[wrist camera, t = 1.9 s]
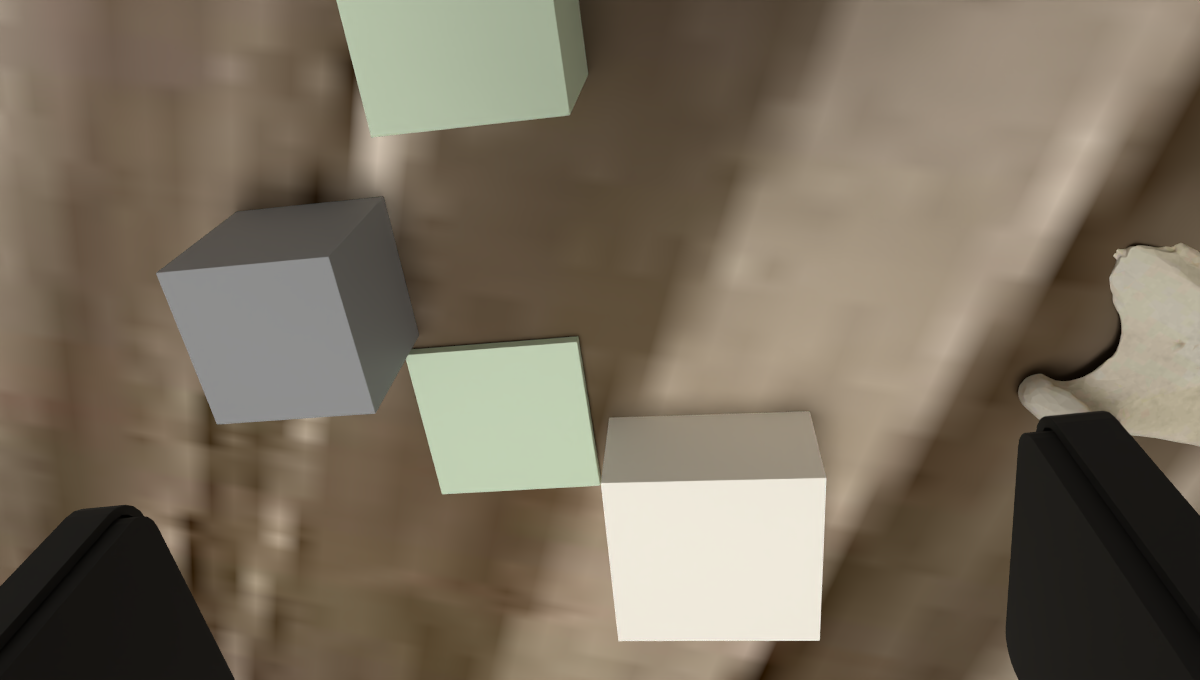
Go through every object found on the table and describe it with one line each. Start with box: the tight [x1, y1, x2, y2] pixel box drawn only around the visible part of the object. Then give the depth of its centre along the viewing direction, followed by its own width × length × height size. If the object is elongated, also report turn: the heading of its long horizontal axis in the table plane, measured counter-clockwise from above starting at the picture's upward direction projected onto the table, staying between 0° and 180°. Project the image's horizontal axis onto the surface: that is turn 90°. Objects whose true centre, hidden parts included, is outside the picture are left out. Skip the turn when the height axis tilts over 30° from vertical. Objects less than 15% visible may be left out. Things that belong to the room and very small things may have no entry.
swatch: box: [406, 336, 601, 494], centre depth 31 cm, size 6×6×1 cm
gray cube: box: [156, 197, 419, 424], centre depth 27 cm, size 5×5×5 cm
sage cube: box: [336, 0, 588, 137], centre depth 22 cm, size 5×5×5 cm
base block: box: [601, 411, 826, 641], centre depth 30 cm, size 7×7×4 cm
